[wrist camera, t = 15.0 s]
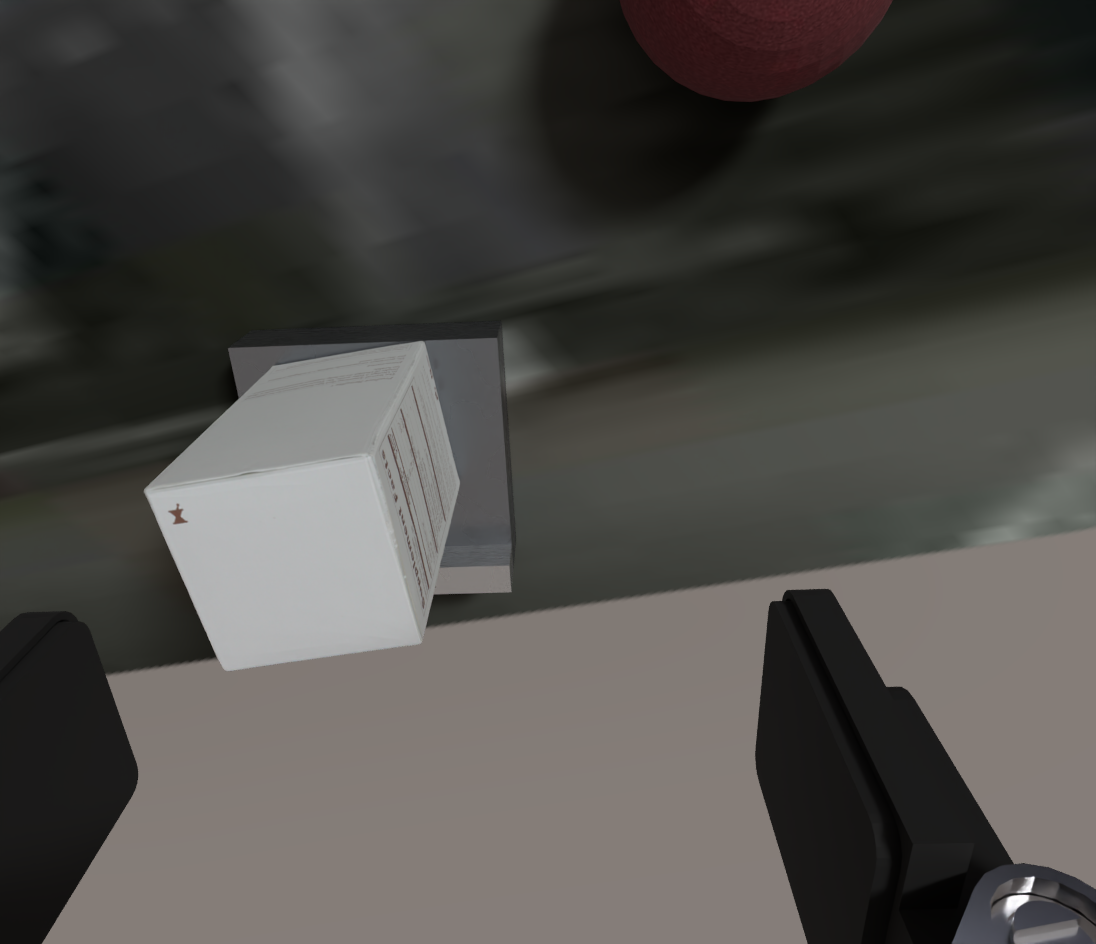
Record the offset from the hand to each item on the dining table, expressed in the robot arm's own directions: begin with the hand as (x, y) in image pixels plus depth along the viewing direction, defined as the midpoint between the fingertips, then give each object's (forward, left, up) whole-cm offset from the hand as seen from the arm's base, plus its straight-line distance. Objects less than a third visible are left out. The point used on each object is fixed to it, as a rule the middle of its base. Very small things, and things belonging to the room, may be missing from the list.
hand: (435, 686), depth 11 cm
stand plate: (+8, -7, -28) cm, 30 cm away
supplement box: (+6, -7, -26) cm, 27 cm away
